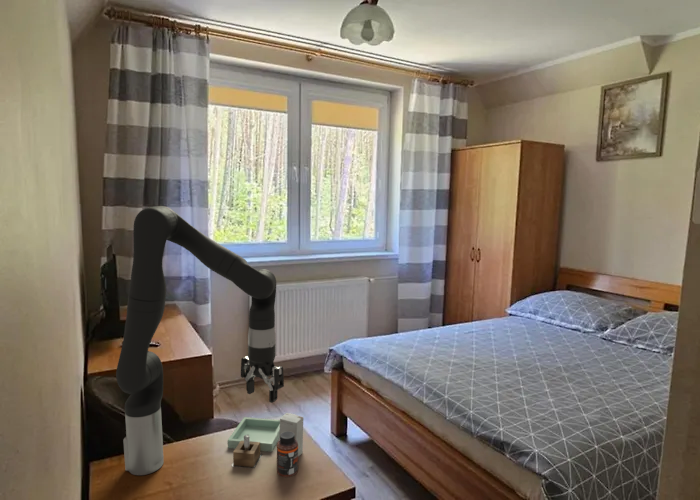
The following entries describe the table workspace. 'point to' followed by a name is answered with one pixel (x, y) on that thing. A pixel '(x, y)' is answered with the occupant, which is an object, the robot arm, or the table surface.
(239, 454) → the ring
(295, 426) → the skincare box
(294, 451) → the supplement bottle
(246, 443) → the plate with metal peg
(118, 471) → the table surface
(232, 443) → the tray
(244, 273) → the robot arm
